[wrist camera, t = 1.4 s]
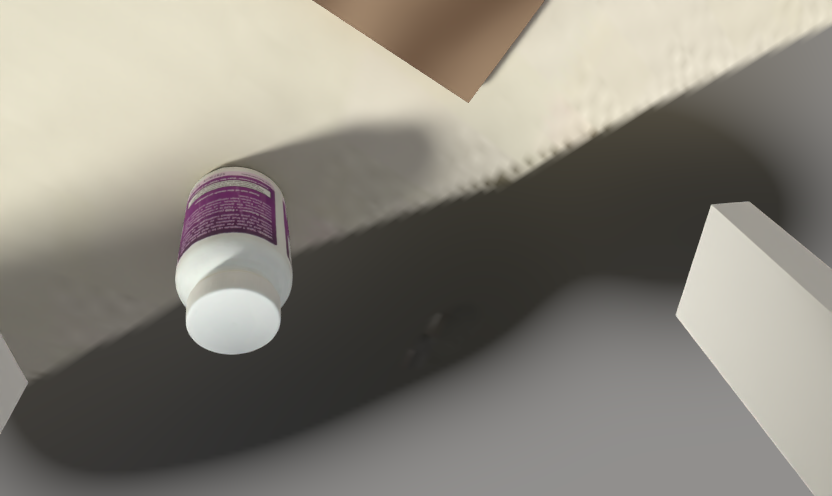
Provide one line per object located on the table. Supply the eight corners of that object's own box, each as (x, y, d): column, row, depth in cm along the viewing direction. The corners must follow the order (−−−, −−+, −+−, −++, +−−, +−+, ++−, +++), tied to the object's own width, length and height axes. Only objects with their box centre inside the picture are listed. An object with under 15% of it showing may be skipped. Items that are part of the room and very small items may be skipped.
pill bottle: (165, 200, 32) (136, 321, 24) (241, 144, 31) (237, 252, 23) (235, 260, 35) (230, 383, 27) (305, 211, 34) (320, 324, 26)
